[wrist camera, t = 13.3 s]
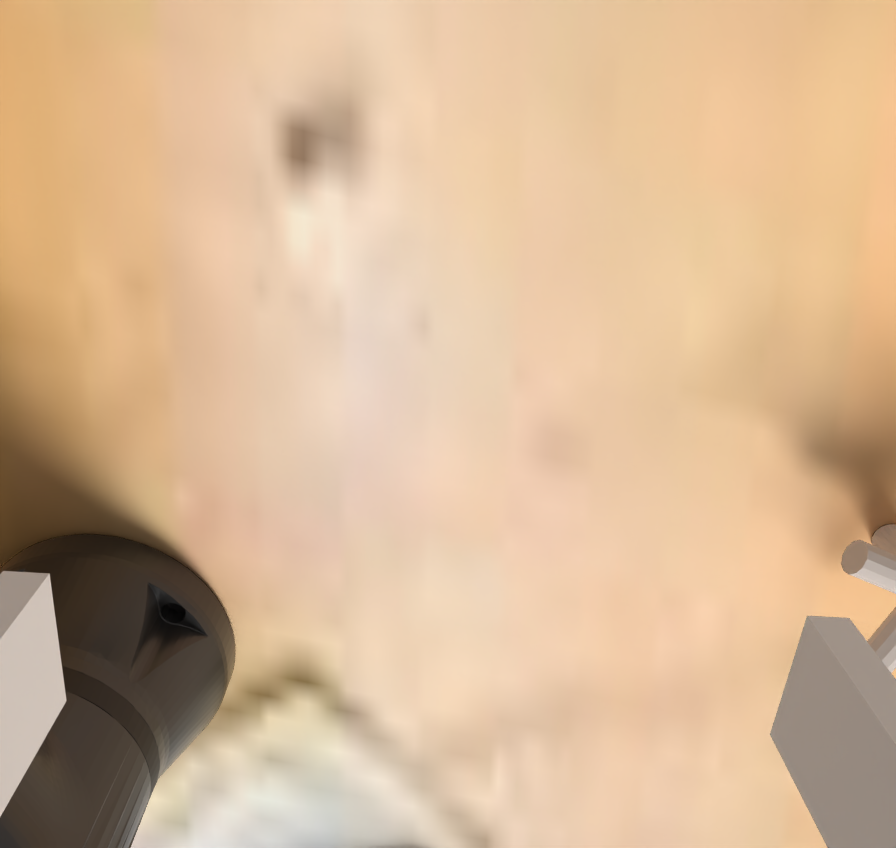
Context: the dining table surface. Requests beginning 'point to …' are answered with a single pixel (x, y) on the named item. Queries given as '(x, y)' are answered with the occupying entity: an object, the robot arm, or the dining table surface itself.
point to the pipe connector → (877, 583)
